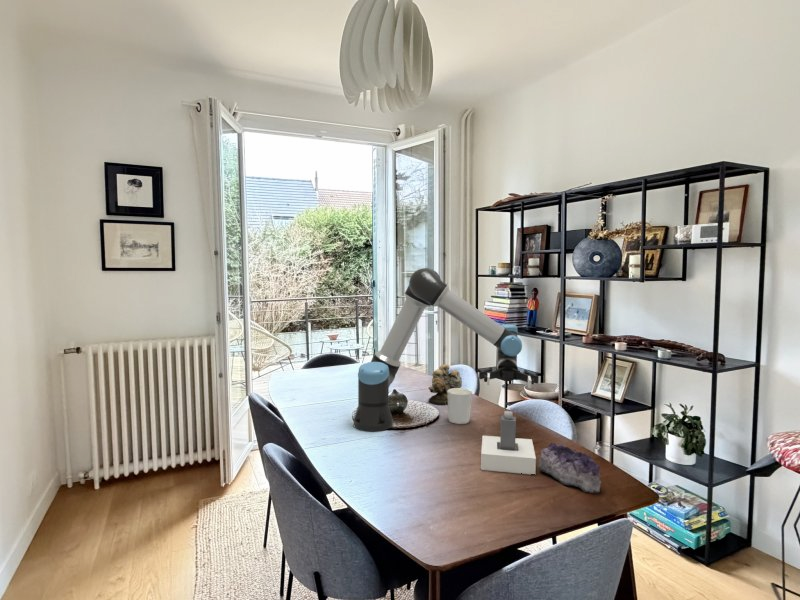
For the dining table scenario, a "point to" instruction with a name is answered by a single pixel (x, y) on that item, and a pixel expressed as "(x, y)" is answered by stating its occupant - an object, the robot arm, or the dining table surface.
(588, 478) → the geode
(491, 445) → the socket block
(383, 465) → the dining table surface
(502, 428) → the plug
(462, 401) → the candle holder
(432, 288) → the robot arm
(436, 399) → the olive rock sculpture
